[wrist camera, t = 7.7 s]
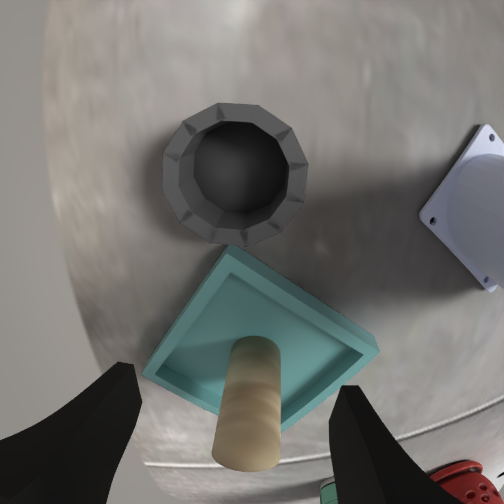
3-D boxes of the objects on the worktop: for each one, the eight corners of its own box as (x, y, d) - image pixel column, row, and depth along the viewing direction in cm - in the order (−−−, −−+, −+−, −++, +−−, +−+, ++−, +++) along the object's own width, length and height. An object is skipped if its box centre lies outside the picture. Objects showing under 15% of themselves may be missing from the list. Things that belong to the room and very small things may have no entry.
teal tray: (373, 336, 21) (380, 351, 20) (272, 423, 25) (272, 439, 24) (230, 241, 19) (226, 253, 18) (148, 359, 23) (141, 374, 22)
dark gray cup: (324, 153, 17) (335, 160, 14) (255, 244, 19) (251, 270, 16) (224, 85, 16) (212, 76, 13) (162, 182, 18) (139, 195, 15)
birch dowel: (289, 345, 21) (292, 449, 14) (268, 378, 23) (263, 476, 15) (241, 328, 21) (224, 432, 13) (223, 363, 22) (203, 461, 15)
